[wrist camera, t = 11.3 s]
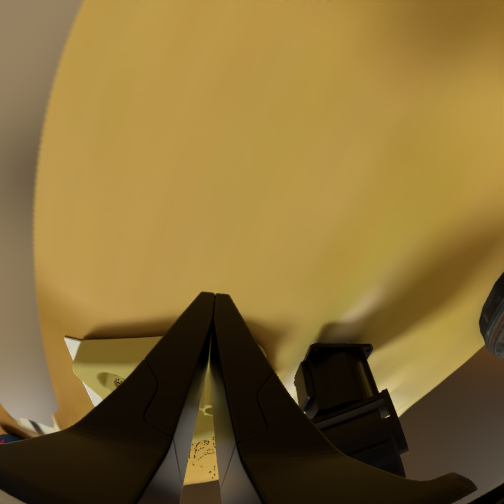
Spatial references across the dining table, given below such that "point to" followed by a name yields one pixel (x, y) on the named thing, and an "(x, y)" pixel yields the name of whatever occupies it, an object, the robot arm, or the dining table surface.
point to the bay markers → (73, 347)
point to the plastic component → (122, 364)
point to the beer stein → (494, 319)
